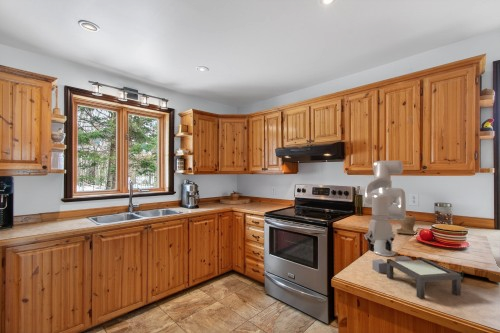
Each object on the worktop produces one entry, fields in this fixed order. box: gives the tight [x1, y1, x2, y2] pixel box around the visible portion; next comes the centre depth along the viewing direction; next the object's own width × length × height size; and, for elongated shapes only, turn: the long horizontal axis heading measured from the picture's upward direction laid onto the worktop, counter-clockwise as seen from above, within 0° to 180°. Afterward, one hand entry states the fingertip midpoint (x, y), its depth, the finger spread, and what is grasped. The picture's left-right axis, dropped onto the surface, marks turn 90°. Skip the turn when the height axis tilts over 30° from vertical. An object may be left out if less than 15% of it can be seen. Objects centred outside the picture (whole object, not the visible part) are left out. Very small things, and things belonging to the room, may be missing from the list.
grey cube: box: [372, 259, 387, 274], centre depth 124 cm, size 5×5×5 cm
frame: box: [386, 256, 462, 300], centre depth 109 cm, size 20×20×9 cm
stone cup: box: [396, 215, 416, 235], centre depth 194 cm, size 15×12×15 cm
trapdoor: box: [394, 255, 447, 275], centre depth 111 cm, size 19×14×2 cm
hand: (379, 250), depth 124 cm, fingers open, 9 cm apart
